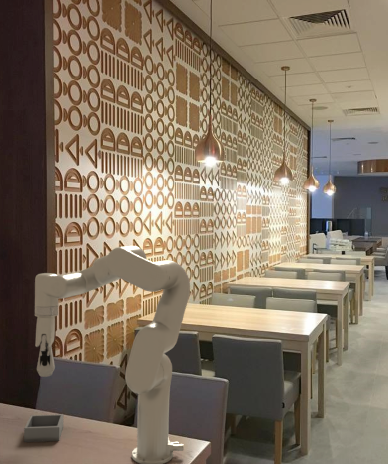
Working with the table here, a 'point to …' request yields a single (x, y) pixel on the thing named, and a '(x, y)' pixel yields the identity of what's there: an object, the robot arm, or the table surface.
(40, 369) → the salt shaker
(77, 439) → the table surface
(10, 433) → the table surface
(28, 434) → the tray
